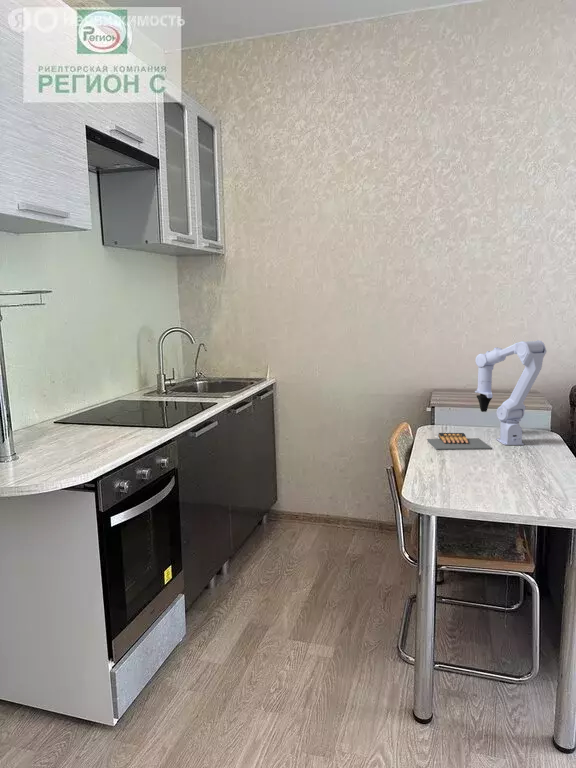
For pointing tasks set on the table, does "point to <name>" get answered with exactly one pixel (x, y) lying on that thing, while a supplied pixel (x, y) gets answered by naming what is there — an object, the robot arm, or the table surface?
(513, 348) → the robot arm
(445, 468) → the table surface
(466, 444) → the mat
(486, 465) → the table surface
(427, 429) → the table surface
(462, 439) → the ammunition clip
